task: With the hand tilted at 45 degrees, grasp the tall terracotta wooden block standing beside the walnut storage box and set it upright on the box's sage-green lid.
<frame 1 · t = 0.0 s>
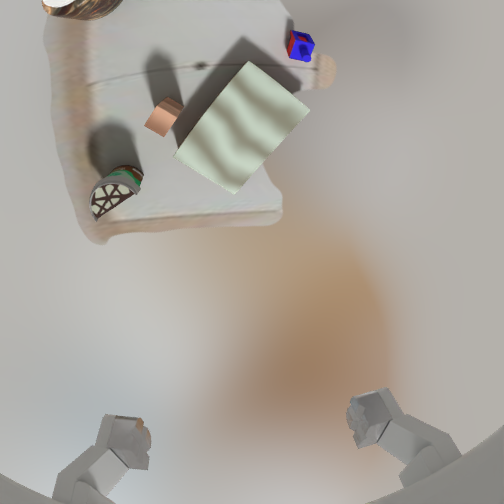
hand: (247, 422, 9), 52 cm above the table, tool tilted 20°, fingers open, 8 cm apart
toy building block: (296, 46, 41), on the table
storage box: (238, 124, 51), on the table
food container: (120, 174, 54), on the table
tall block: (169, 109, 47), on the table
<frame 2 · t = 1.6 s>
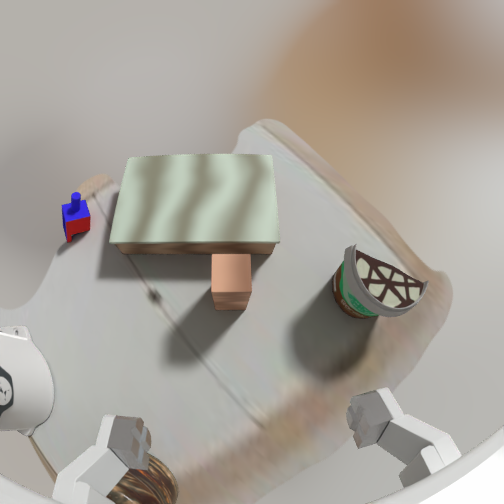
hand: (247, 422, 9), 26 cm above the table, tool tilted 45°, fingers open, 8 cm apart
toy building block: (81, 226, 40), on the table
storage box: (197, 211, 42), on the table
food container: (354, 305, 39), on the table
tall block: (230, 295, 37), on the table
jar: (137, 480, 26), on the table
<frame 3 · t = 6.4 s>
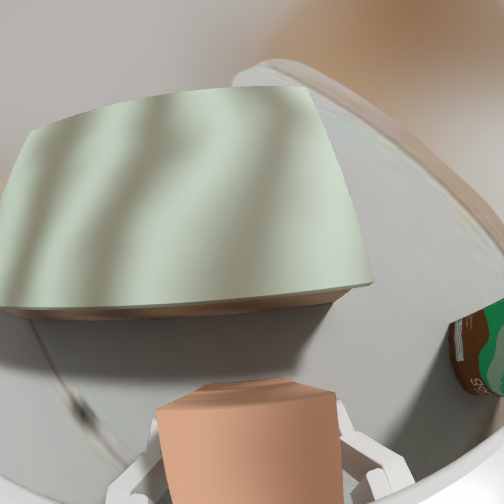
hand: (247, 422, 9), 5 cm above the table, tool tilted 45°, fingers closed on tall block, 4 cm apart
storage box: (155, 217, 18), on the table
food container: (478, 372, 14), on the table
tall block: (246, 414, 14), on the table, touching gripper
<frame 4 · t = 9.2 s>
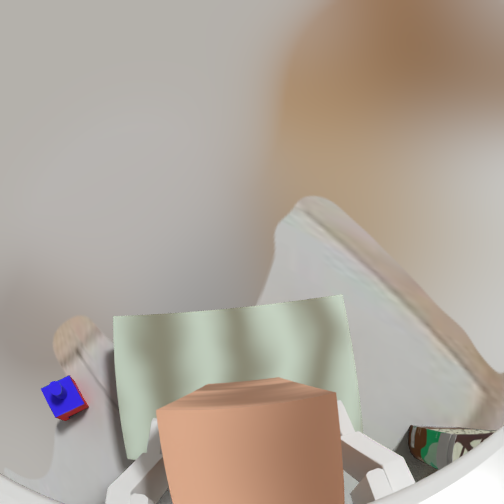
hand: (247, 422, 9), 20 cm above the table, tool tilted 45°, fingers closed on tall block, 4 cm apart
toy building block: (75, 398, 25), on the table
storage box: (236, 383, 27), on the table
food container: (427, 447, 23), on the table
tall block: (247, 414, 14), point 14 cm above the table, touching gripper
when the fingers open (12 cm above the table, at t = 11.8 s): tall block drops 1 cm, resting on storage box.
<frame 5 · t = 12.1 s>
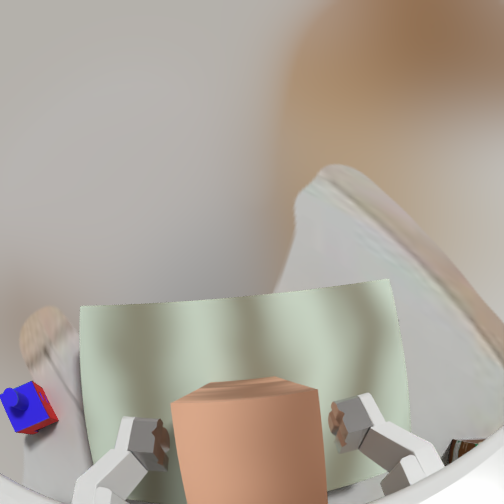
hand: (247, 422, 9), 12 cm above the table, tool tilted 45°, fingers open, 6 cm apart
toy building block: (43, 408, 18), on the table
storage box: (245, 399, 20), on the table
food container: (466, 462, 16), on the table
tall block: (246, 410, 15), point 5 cm above the table, touching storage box
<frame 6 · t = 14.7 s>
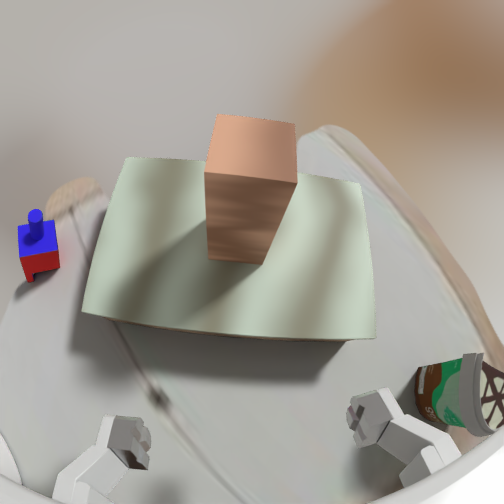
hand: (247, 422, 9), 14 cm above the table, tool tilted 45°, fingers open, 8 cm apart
toy building block: (48, 258, 24), on the table
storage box: (234, 260, 26), on the table
food container: (433, 404, 22), on the table
tall block: (237, 237, 21), point 5 cm above the table, touching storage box
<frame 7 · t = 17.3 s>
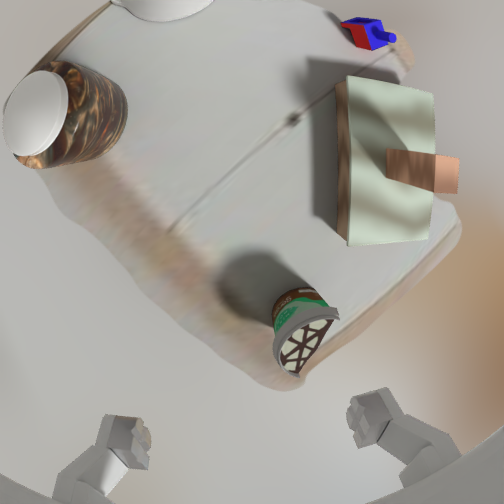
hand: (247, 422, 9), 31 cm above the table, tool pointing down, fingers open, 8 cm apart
toy building block: (359, 36, 29), on the table
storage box: (379, 160, 37), on the table
food container: (284, 306, 45), on the table
tall block: (397, 163, 32), point 5 cm above the table, touching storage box
jar: (92, 119, 30), on the table
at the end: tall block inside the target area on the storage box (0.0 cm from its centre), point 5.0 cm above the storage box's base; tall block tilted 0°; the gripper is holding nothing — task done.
